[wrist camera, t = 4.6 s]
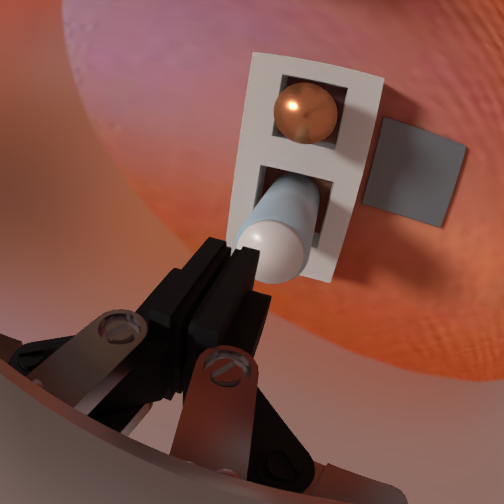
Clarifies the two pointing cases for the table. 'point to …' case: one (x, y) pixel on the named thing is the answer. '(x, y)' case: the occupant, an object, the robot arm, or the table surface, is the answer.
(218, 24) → the table surface
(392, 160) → the mat
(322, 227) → the housing
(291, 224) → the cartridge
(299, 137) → the plunger
